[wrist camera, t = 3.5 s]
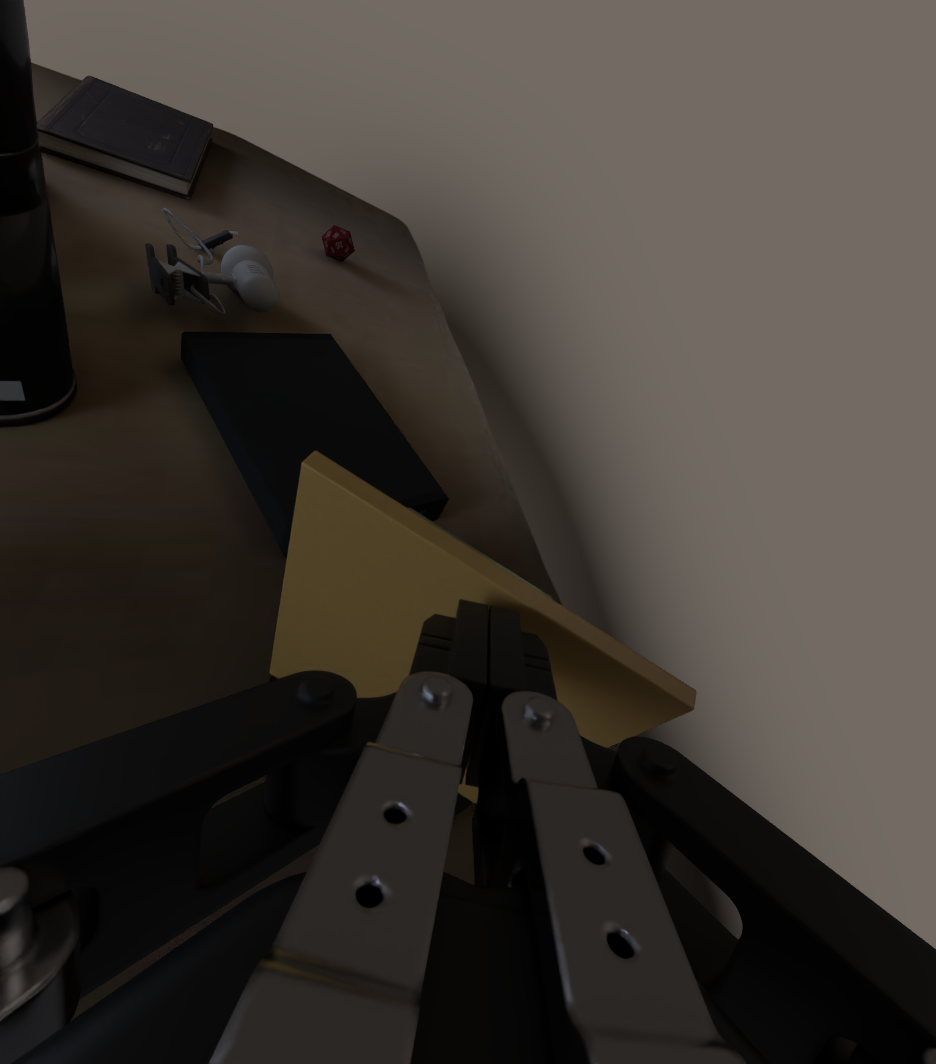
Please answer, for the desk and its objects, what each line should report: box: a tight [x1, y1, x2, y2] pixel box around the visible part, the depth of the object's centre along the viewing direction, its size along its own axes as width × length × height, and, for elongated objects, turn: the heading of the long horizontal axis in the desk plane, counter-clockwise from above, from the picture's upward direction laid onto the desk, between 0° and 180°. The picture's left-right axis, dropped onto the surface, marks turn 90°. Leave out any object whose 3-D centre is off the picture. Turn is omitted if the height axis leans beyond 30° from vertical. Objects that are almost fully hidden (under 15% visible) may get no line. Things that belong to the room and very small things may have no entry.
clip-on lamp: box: [146, 208, 280, 316], centre depth 55 cm, size 12×6×18 cm
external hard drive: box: [181, 332, 449, 558], centre depth 46 cm, size 14×23×3 cm, turn 36°
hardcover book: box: [37, 76, 213, 200], centre depth 69 cm, size 16×23×2 cm
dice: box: [322, 225, 355, 261], centre depth 71 cm, size 4×4×4 cm
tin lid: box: [269, 451, 696, 804], centre depth 19 cm, size 15×11×1 cm
